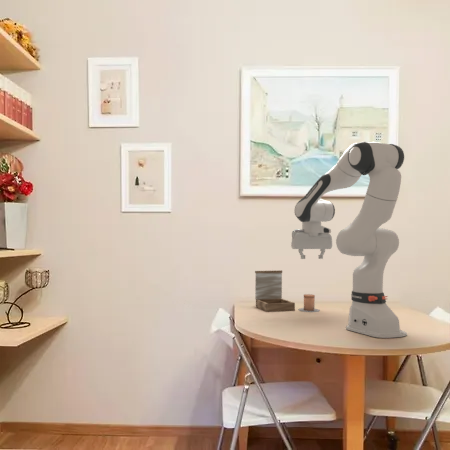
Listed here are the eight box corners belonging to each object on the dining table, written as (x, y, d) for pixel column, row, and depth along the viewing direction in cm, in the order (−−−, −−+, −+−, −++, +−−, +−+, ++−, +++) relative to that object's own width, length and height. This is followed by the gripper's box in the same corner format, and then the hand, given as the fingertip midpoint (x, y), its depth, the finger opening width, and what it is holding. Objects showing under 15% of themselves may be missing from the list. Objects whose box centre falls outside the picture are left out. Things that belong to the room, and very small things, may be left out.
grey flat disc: (324, 312, 192) (324, 311, 192) (304, 313, 189) (304, 312, 189) (312, 308, 201) (312, 307, 201) (294, 309, 198) (294, 308, 198)
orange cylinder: (316, 310, 193) (316, 295, 193) (306, 311, 192) (307, 295, 192) (311, 308, 198) (311, 294, 198) (301, 309, 197) (301, 294, 197)
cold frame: (295, 311, 194) (295, 273, 194) (266, 312, 189) (267, 273, 190) (281, 306, 208) (281, 270, 208) (254, 307, 203) (255, 270, 204)
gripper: (295, 228, 189) (295, 259, 188) (333, 229, 195) (334, 258, 195) (288, 229, 195) (289, 258, 194) (326, 230, 201) (326, 258, 201)
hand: (311, 258), depth 194 cm, fingers open, 8 cm apart
